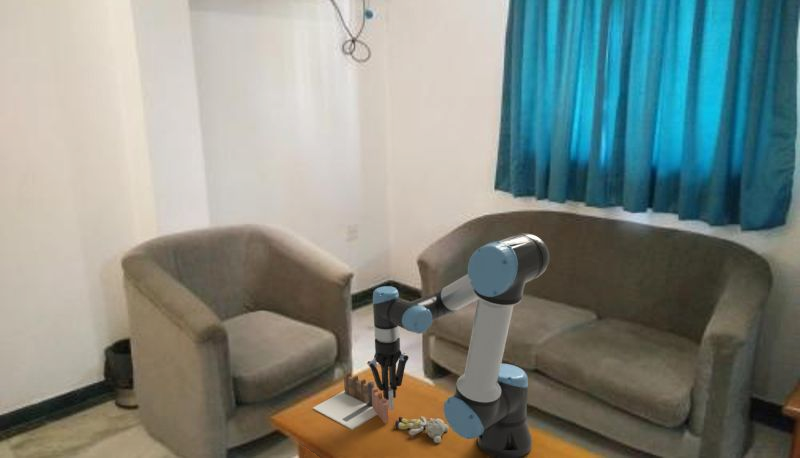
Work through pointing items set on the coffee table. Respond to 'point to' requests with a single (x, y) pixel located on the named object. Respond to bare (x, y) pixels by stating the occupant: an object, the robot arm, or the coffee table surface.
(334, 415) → the card
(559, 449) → the coffee table surface
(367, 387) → the fence fixed
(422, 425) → the toy
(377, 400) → the fence panel
